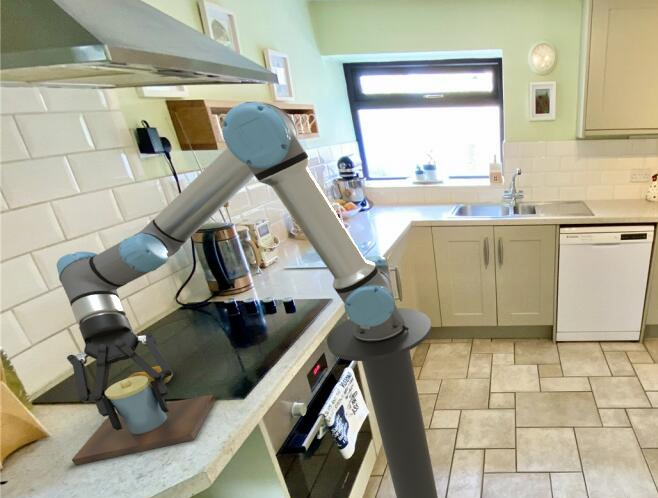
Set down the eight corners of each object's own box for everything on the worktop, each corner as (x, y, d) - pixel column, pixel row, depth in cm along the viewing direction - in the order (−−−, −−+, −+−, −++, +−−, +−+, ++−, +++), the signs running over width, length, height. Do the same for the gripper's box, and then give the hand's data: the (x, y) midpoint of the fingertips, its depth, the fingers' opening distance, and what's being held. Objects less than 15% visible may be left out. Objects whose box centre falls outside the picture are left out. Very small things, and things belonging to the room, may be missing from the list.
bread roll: (178, 380, 104) (171, 367, 102) (133, 398, 98) (125, 385, 96) (168, 369, 109) (162, 356, 107) (125, 386, 103) (118, 372, 101)
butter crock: (174, 409, 91) (151, 367, 86) (160, 430, 85) (135, 386, 80) (137, 417, 90) (112, 374, 84) (121, 438, 84) (93, 394, 79)
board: (215, 399, 96) (213, 394, 96) (193, 439, 84) (190, 434, 84) (114, 419, 92) (110, 413, 91) (75, 465, 80) (71, 459, 79)
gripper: (165, 313, 96) (203, 401, 92) (46, 344, 85) (83, 446, 81) (157, 298, 90) (197, 392, 86) (27, 330, 78) (66, 440, 75)
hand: (142, 419), depth 83 cm, fingers closed on butter crock, 7 cm apart
